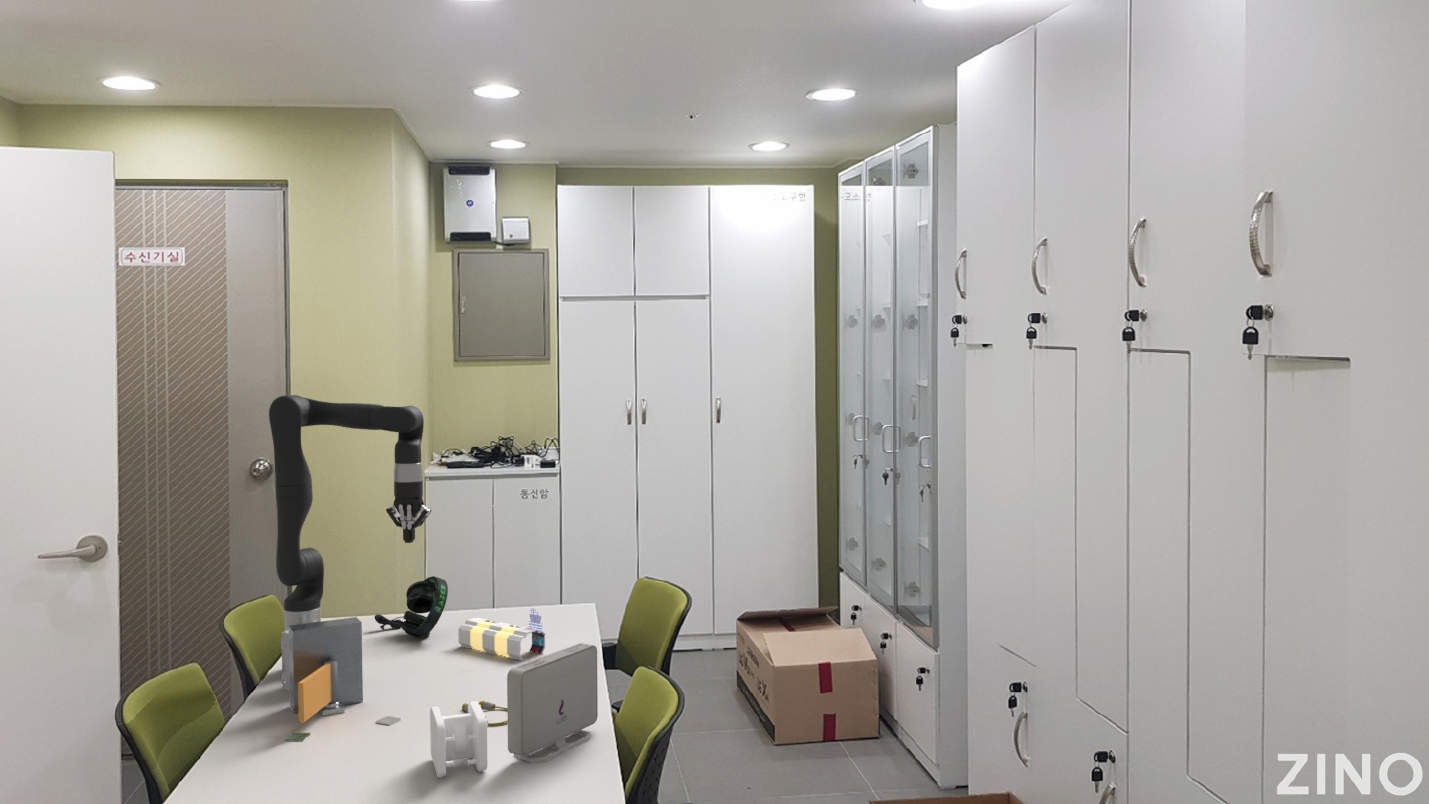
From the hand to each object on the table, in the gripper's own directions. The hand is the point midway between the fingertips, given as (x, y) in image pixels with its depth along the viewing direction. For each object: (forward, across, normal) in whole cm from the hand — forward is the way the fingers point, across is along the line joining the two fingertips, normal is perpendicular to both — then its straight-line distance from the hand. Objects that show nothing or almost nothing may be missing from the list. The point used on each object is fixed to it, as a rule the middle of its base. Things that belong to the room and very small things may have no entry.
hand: (409, 542), depth 283 cm
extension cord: (+36, +38, -28) cm, 59 cm away
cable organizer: (+35, +45, -58) cm, 81 cm away
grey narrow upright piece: (+35, -16, -20) cm, 44 cm away
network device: (+35, +60, -43) cm, 82 cm away
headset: (+35, -17, +31) cm, 50 cm away
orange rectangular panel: (+33, 0, -42) cm, 53 cm away
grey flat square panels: (+35, +2, -38) cm, 52 cm away
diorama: (+36, +16, +23) cm, 45 cm away
